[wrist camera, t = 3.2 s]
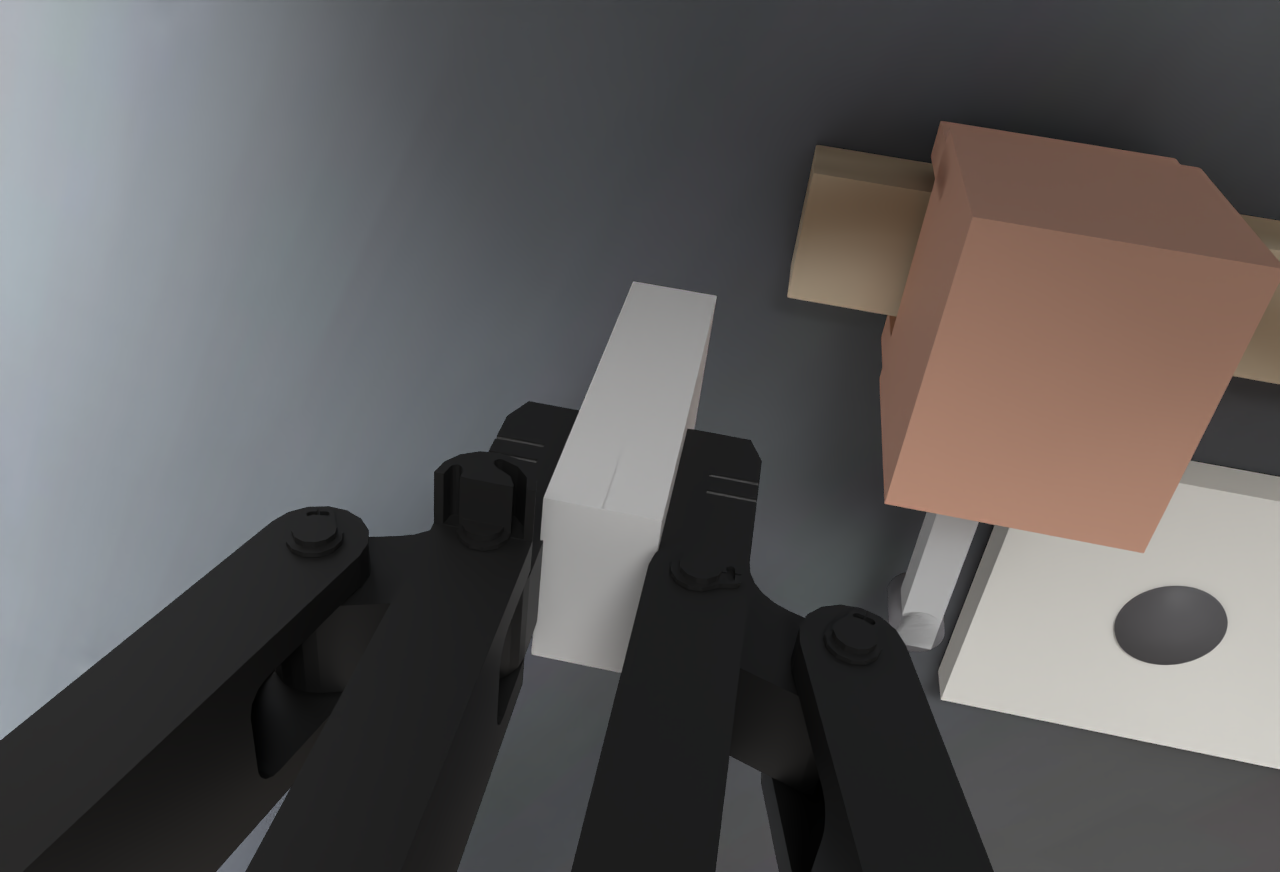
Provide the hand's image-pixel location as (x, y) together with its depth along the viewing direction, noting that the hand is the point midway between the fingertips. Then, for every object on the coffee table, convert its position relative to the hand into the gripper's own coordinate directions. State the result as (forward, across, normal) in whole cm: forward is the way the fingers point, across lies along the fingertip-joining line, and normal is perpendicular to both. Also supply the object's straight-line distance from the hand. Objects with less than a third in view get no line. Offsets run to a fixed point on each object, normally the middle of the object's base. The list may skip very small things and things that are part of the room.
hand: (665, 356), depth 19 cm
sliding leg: (+7, +7, -3) cm, 11 cm away
